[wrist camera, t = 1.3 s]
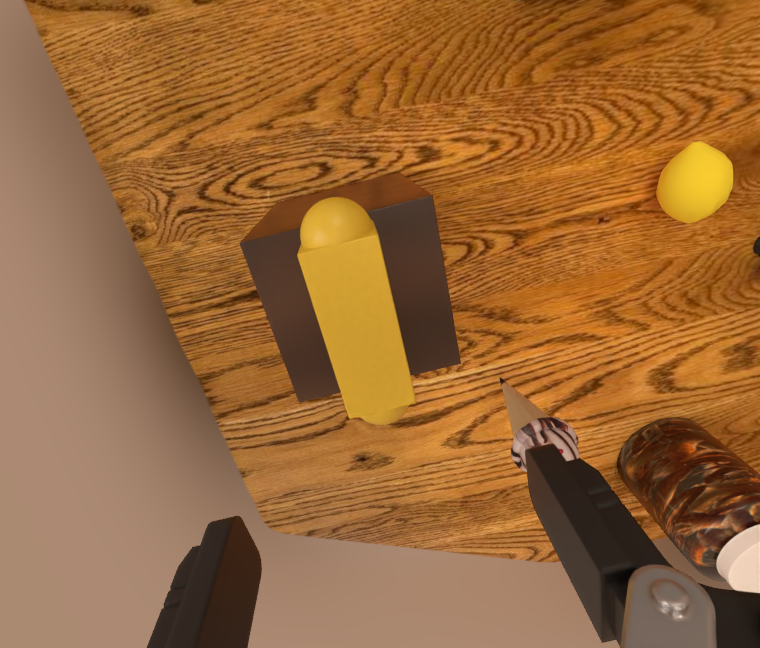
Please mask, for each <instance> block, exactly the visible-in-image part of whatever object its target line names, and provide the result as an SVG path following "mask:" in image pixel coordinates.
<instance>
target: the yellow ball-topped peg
mask: <svg viewBox="0 0 760 648" xmlns="http://www.w3.org/2000/svg"><path fill="white" fill-rule="evenodd" d="M300 239H301V246H300V248H299V251H298V254H297V256H298V260H299V263H300V266H301V269H302V272H303V275H304V278H305V282H306V285H307V288H308V291H309V294H310V297H311V300H312V303H313V307H314V310H315V313H316V316H317V319H318V322H319V325H320V329H321V332H322V335H323V338H324V341H325V344H326V347H327V351H328V354H329V357H330V360H331V363H332V366H333V369H334V372H335V376H336V379H337V382H338V385H339V388H340V391H341V394H342V398H343V401H344V404H345V407H346V410H347V413H348V416H349V418H350V419H352V418H356V417H360V418H361V419H363V420H364V421H366V422H368V423H371V424H374V425H386V424H390V423H393V422H395V421H397V420H398V419H399V418H401V417H402V416H403V415H404V413H405V412H406V411H407V409H408V407H409V405H411V404H415V403H416V402H417V401H416V397H415V392H414V388H413V384H412V379H411V375H410V371H409V366H408V362H407V358H406V353H405V349H404V344H403V340H402V336H401V331H400V327H399V323H398V318H397V314H396V310H395V305H394V301H393V297H392V292H391V288H390V284H389V279H388V275H387V270H386V266H385V262H384V257H383V253H382V249H381V244H380V240H379V236H378V233H377V230H376V227H375V224H374V222H373V220H371V219H370V217H369V215H368V213H367V212H366V211H365V210H364V209H363V208H362V207H361V206H360V205H359V204H357V203H356V202H354V201H352V200H350V199H347V198H343V197H331V198H326V199H323V200H321V201H319V202H318V203H316V204H315V205H313V206H312V207H311V208H310V209H309V210H308V212H307V213H306V215H305V216H304V219H303V221H302V224H301V229H300Z"/></svg>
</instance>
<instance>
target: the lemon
mask: <svg viewBox="0 0 760 648" xmlns="http://www.w3.org/2000/svg"><path fill="white" fill-rule="evenodd" d="M732 188H733V166H732V163H731V162H730V160H729V159H728V158H727V156H726V155H725V154H724V153H722V152H721V151H719V150H717V149H715V148H713V147H711V146H709V145H707V144H705V143H703V142H701V141H694V142H692V143H691V144H690V145H688V146H687V147H686V148H685V149H684V150H682V151H681V152H680V153H679V154H677V155H676V156H675V157H674V158H672V159H671V160H670V161H669V163H668V164H667V165H666V166H665V168H664V169H663V170H662V172H661V174H660V178H659V181H658V186H657V191H656V196H657V198H658V201H659V204H660V206H661V208H662V209H663V210H664V212H665V213H666V214H668V215H669V216H671V217H672V218H674V219H676V220H678V221H681V222H684V223H688V224H690V223H694V222H697V221H699V220H701V219H703V218H706V217H707V216H709V215H711V214H712V213H714V212H715V211H716V210H717V209H718V208H720V207H721V206H722V205H723V204H724V203H725V202H726V201H727V199H728V197H729V195H730V192H731V190H732Z"/></svg>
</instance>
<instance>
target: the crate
mask: <svg viewBox="0 0 760 648" xmlns="http://www.w3.org/2000/svg"><path fill="white" fill-rule="evenodd" d="M331 197H343V198H347V199H350V200H352V201H354V202H356V203H357V204H359V205H360V206H361V207H362V208H363V209H364V210H365V211H366V212H367V213H368V215H369V217H370V219H371V220H373V222H374V224H375V227H376V230H377V233H378V236H379V240H380V244H381V249H382V253H383V257H384V262H385V266H386V270H387V275H388V279H389V284H390V288H391V292H392V297H393V301H394V305H395V310H396V314H397V318H398V323H399V327H400V331H401V336H402V340H403V344H404V349H405V353H406V358H407V362H408V366H409V371H410V375H415V374H419V373H424V372H428V371H432V370H436V369H440V368H445V367H449V366H453V365H457V364H461V361H460V356H459V350H458V344H457V338H456V332H455V326H454V320H453V314H452V308H451V302H450V296H449V290H448V284H447V278H446V272H445V266H444V260H443V254H442V248H441V242H440V236H439V230H438V224H437V219H436V213H435V207H434V201H433V196H432V195H431V194H430V193H428V192H427V191H425V190H424V189H422V188H421V187H419V186H418V185H417V184H415V183H414V182H412V181H411V180H409V179H408V178H406V177H405V176H404V175H402V174H401V173H399V172H398V173H394V174H390V175H386V176H382V177H378V178H374V179H370V180H366V181H362V182H358V183H354V184H350V185H346V186H341V187H337V188H333V189H329V190H325V191H321V192H317V193H313V194H309V195H305V196H301V197H297V198H293V199H289V200H285V201H281V202H277V203H276V204H275V205H274V207H273V208H272V209H271V210H270V211H269V212H268V213H267V214H266V215H265V216H264V217H263V218H262V219H261V221H260V222H259V223H258V224H257V225H256V226H255V227H254V228H253V229H252V230H251V231H250V232H249V234H248V235H247V236H246V237H245V238H244V239H243V240H242V241H241V242H240V246H241V248H242V251H243V254H244V256H245V259H246V262H247V264H248V267H249V270H250V272H251V275H252V278H253V280H254V283H255V286H256V288H257V291H258V294H259V296H260V299H261V302H262V304H263V307H264V310H265V312H266V315H267V318H268V321H269V323H270V326H271V329H272V331H273V334H274V337H275V339H276V342H277V345H278V347H279V350H280V353H281V355H282V358H283V361H284V363H285V366H286V369H287V371H288V374H289V377H290V379H291V382H292V385H293V387H294V390H295V393H296V395H297V398H298V401H299V402H302V401H307V400H311V399H315V398H319V397H323V396H327V395H332V394H336V393H340V392H341V391H340V388H339V385H338V382H337V379H336V376H335V372H334V369H333V366H332V363H331V360H330V357H329V354H328V351H327V347H326V344H325V341H324V338H323V335H322V332H321V329H320V325H319V322H318V319H317V316H316V313H315V310H314V307H313V303H312V300H311V297H310V294H309V291H308V288H307V285H306V282H305V278H304V275H303V272H302V269H301V266H300V263H299V260H298V256H297V254H298V251H299V248H300V246H301V239H300V229H301V224H302V221H303V219H304V216H305V215H306V213H307V212H308V210H309V209H310V208H311V207H312V206H313V205H315V204H316V203H318V202H319V201H321V200H323V199H326V198H331Z"/></svg>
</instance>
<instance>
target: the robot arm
mask: <svg viewBox="0 0 760 648" xmlns="http://www.w3.org/2000/svg"><path fill="white" fill-rule="evenodd" d="M525 460H526V469H527V477H528V486H529V493H530V497H531V500H532V503H533V506H534V509H535V511H536V513H537V515H538V517H539V519H540V521H541V523H542V525H543V527H544V529H545V531H546V533H547V535H548V537H549V539H550V541H551V543H552V545H553V547H554V549H555V551H556V553H557V555H558V557H559V559H560V561H561V562H562V565H563V567H564V568H565V570H566V572H567V574H568V576H569V578H570V580H571V582H572V584H573V586H574V588H575V590H576V592H577V594H578V596H579V598H580V600H581V602H582V604H583V606H584V608H585V609H586V612H587V614H588V616H589V618H590V620H591V621H592V624H593V626H594V628H595V630H596V631H597V633H598V636H599V637H600V639H601V641H602V643H603V642H607V641H612V640H617V642H618V644H619V645H620V648H760V593H755V592H745V591H735V590H725V589H718V588H712V587H709V586H705V585H703V584H700V583H698V582H696V581H695V580H694V579H693V578H691V577H690V576H688V575H687V574H685V573H683V572H681V571H679V570H677V569H675V568H673V567H672V566H671V565H670V564H669V563H668V562H667V561H666V559H665V558H664V557H663V556H662V554H661V553H660V552H659V550H658V549H657V548H656V546H655V545H654V544H653V542H652V541H651V540H650V539H649V537H648V536H647V535H646V533H645V532H644V531H643V529H642V528H641V527H640V525H639V524H638V523H637V521H636V520H635V519H634V517H633V516H632V515H631V513H630V512H629V511H628V509H627V508H626V507H625V505H623V504H622V503H621V500H620V499H619V498H618V496H617V495H616V494H615V492H614V491H612V490H611V487H610V486H609V484H608V483H607V482H606V480H605V479H604V478H603V476H602V475H601V474H600V472H599V471H598V470H596V469H595V468H593V467H592V466H590V465H589V464H587V463H586V462H584V461H583V460H581V459H580V458H578V459H574V460H570V461H566V460H565V458H564V457H563V455H562V454H561V452H560V451H559V450H558V448H557V447H556V445H555V444H553V443H551V444H546V445H542V446H538V447H534V448H529V449H526V450H525ZM261 569H262V567H261V558H260V554H259V551H258V549H257V547H256V545H255V543H254V541H253V539H252V537H251V536H250V534H249V532H248V530H247V528H246V526H245V524H244V522H243V520H242V518H241V517H239V516H234V517H230V518H226V519H222V520H217V521H213V522H211V523H209V524H208V526H207V528H206V531H205V534H204V537H203V539H202V543H201V545H200V546H196V547H192V549H191V550H190V551H189V553H188V554H187V556H186V557H185V558H184V560H183V561H182V562H181V564H180V565H179V566H178V569H177V571H176V574H175V576H174V579H173V582H172V584H171V587H170V588H171V591H169V592H168V594H167V597H166V600H165V602H164V608H163V609H162V610H161V612H160V615H159V618H158V620H157V623H156V625H155V628H154V630H153V633H152V636H151V638H150V641H149V643H148V646H147V648H247V647H248V641H249V636H250V631H251V626H252V621H253V614H254V610H255V605H256V600H257V594H258V589H259V584H260V579H261Z"/></svg>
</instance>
